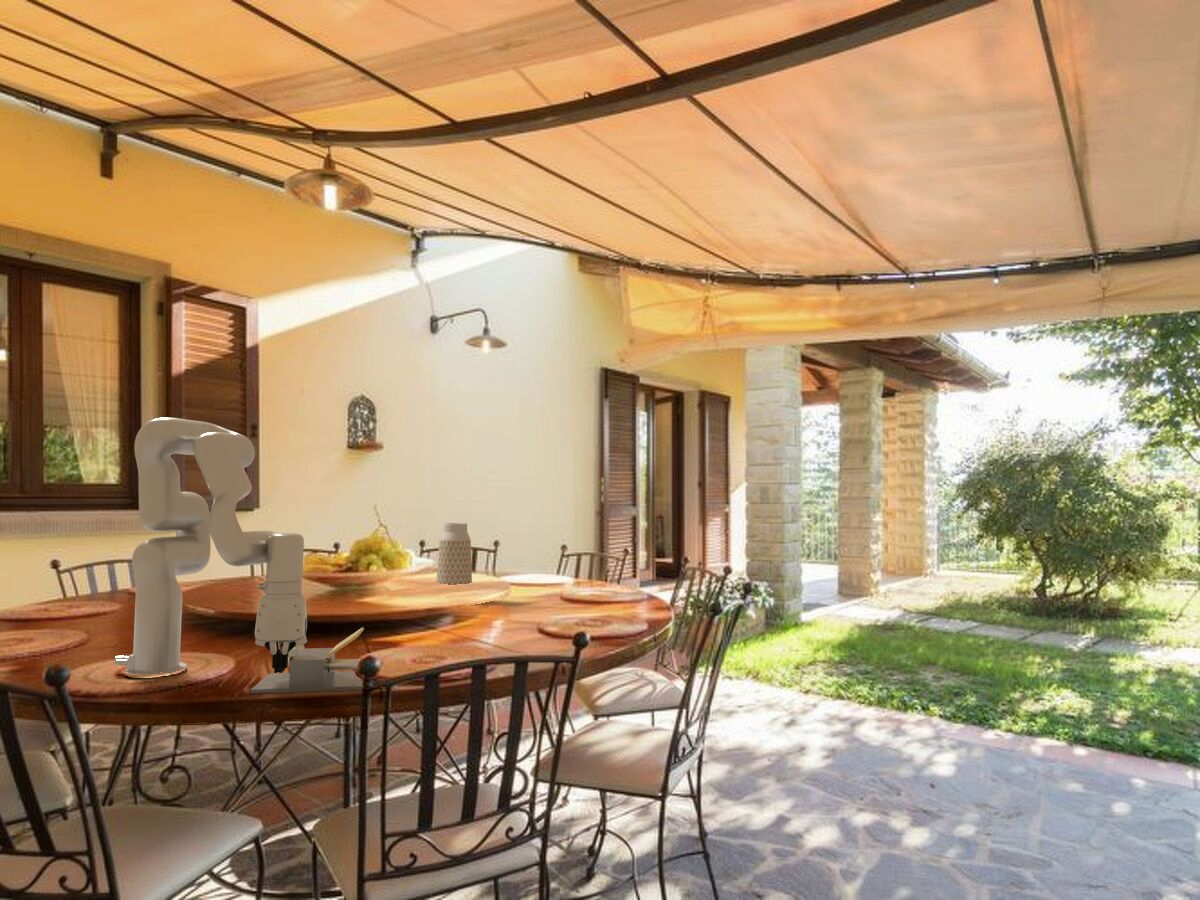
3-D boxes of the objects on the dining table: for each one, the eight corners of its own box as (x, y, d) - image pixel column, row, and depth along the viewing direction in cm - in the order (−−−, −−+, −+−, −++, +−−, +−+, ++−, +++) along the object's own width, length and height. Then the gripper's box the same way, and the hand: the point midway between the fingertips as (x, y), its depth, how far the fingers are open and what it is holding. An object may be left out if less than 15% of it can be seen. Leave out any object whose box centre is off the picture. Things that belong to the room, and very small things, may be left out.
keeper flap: (326, 660, 160) (324, 656, 160) (335, 650, 170) (333, 647, 170) (358, 638, 161) (355, 635, 161) (365, 630, 171) (362, 627, 171)
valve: (309, 665, 181) (307, 655, 192) (310, 638, 182) (308, 629, 193) (281, 667, 179) (279, 657, 189) (281, 640, 179) (280, 631, 190)
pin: (288, 678, 161) (288, 658, 161) (293, 673, 165) (293, 653, 165) (355, 676, 163) (355, 656, 163) (358, 671, 168) (358, 652, 168)
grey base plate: (250, 693, 155) (251, 662, 155) (269, 676, 169) (270, 648, 169) (363, 689, 159) (363, 659, 159) (372, 674, 173) (373, 646, 173)
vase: (468, 604, 280) (470, 524, 281) (432, 604, 279) (434, 523, 281) (474, 599, 293) (475, 522, 295) (439, 599, 293) (441, 522, 295)
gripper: (242, 590, 159) (238, 676, 158) (314, 591, 161) (310, 675, 160) (253, 586, 166) (249, 667, 165) (322, 586, 169) (318, 667, 168)
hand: (279, 671), depth 163 cm, fingers closed
